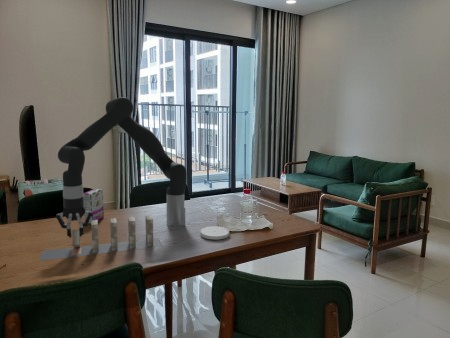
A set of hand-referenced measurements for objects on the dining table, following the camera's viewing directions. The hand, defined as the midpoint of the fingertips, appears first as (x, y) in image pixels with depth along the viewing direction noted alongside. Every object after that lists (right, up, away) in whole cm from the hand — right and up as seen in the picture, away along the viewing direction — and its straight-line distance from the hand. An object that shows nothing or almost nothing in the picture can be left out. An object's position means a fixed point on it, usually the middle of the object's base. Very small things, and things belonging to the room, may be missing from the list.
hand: (75, 236), depth 139 cm
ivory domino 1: (+7, -6, +4) cm, 10 cm away
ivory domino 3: (+21, -6, +9) cm, 23 cm away
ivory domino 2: (+14, -6, +7) cm, 16 cm away
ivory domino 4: (+28, -6, +12) cm, 31 cm away
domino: (-2, -3, +6) cm, 7 cm away
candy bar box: (-9, 0, +43) cm, 44 cm away
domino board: (+10, -7, +5) cm, 13 cm away
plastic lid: (+57, -5, +26) cm, 63 cm away
